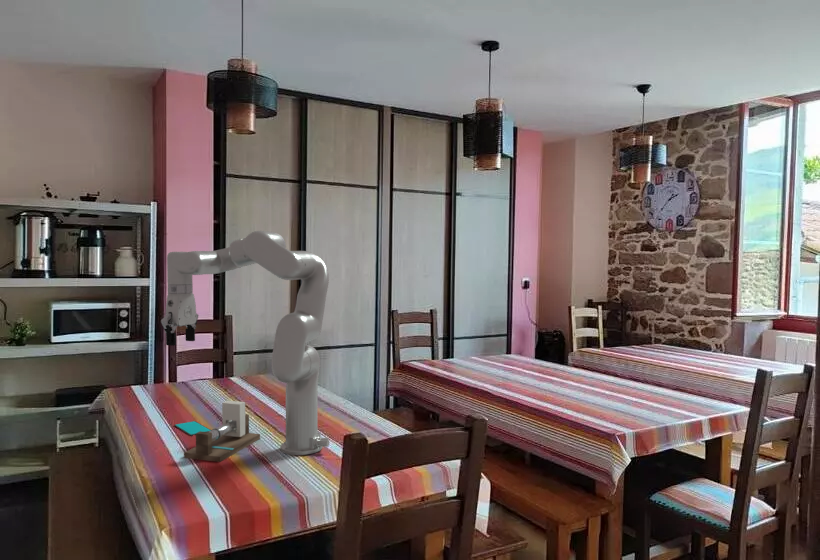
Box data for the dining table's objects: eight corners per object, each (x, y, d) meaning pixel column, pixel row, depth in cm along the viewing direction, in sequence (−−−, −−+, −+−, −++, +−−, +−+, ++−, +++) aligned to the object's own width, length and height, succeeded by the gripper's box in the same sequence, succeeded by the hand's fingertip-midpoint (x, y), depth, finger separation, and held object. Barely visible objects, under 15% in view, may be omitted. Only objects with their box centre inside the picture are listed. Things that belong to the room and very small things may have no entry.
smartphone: (190, 434, 191) (173, 424, 202) (190, 437, 191) (173, 427, 202) (212, 430, 196) (195, 420, 207) (212, 433, 196) (195, 423, 207)
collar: (245, 434, 186) (245, 402, 185) (240, 437, 183) (239, 404, 182) (227, 432, 187) (227, 400, 187) (222, 435, 184) (222, 402, 184)
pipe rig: (260, 438, 189) (260, 415, 188) (220, 461, 168) (220, 435, 167) (227, 435, 192) (226, 412, 192) (183, 457, 171) (183, 432, 170)
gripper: (172, 292, 180) (173, 347, 181) (206, 288, 197) (207, 339, 198) (151, 291, 182) (152, 346, 183) (186, 288, 199) (187, 338, 200)
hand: (180, 343), depth 190 cm, fingers open, 9 cm apart
